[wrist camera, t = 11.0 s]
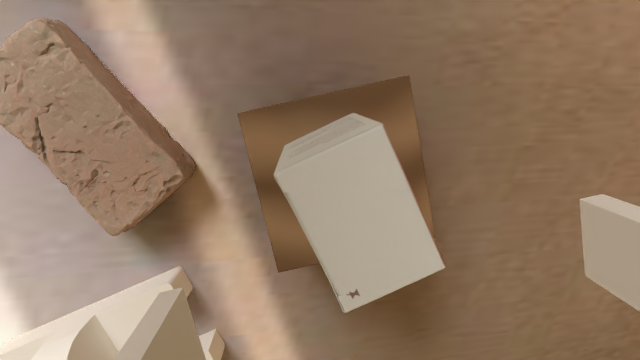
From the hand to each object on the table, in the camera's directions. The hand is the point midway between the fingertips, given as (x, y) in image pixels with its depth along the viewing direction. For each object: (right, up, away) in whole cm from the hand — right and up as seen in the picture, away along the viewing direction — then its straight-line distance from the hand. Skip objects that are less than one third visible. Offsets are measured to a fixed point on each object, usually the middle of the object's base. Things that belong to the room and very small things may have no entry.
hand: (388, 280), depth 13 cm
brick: (-21, +8, +23) cm, 32 cm away
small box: (-1, +3, +16) cm, 17 cm away
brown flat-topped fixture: (-1, +5, +24) cm, 24 cm away
